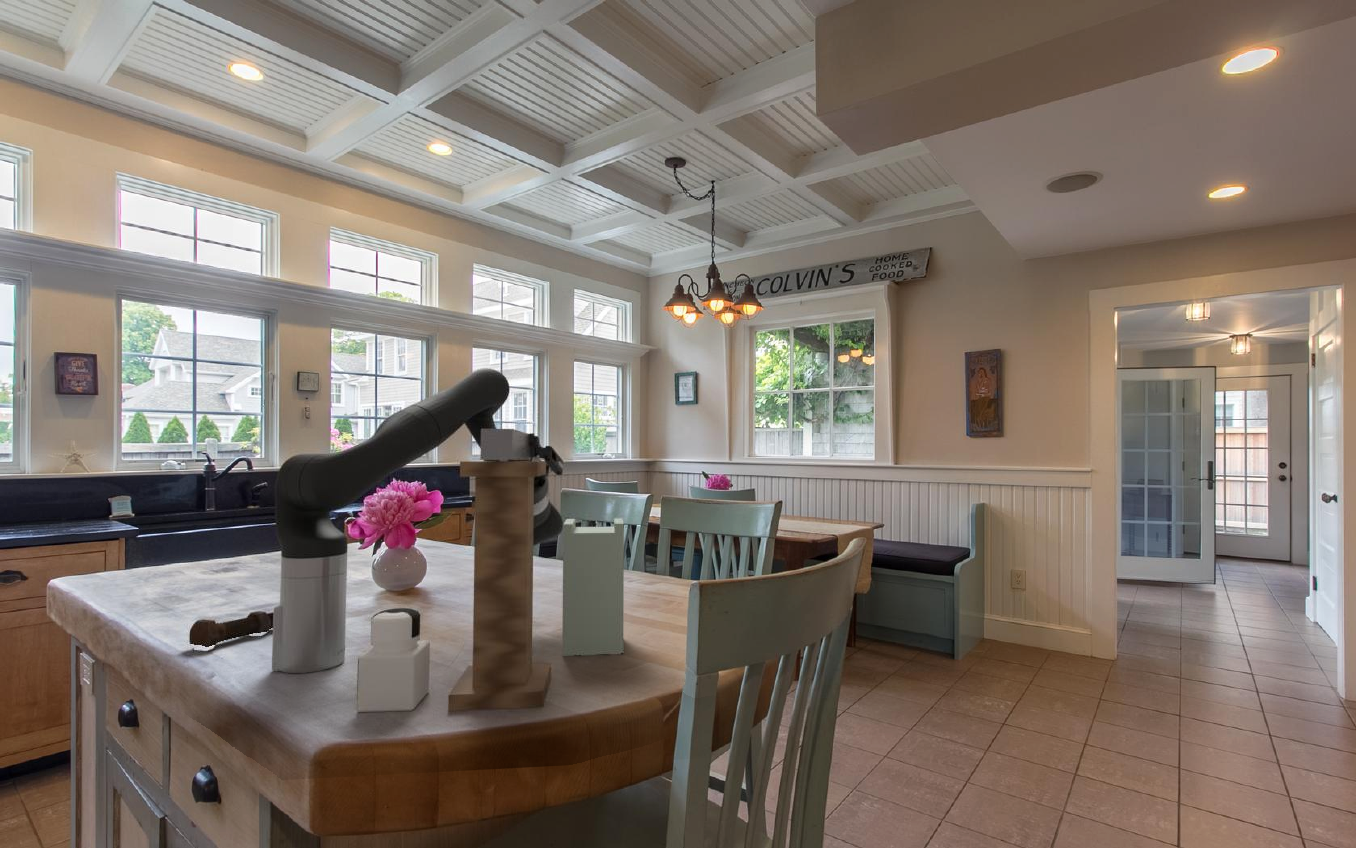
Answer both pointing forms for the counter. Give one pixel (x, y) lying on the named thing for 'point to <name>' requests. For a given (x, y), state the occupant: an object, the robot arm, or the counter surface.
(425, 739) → the counter surface
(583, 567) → the grey tall block
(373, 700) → the medicine bottle
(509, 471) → the tall column
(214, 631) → the bolt
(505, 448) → the brushed steel bar
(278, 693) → the counter surface
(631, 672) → the counter surface
